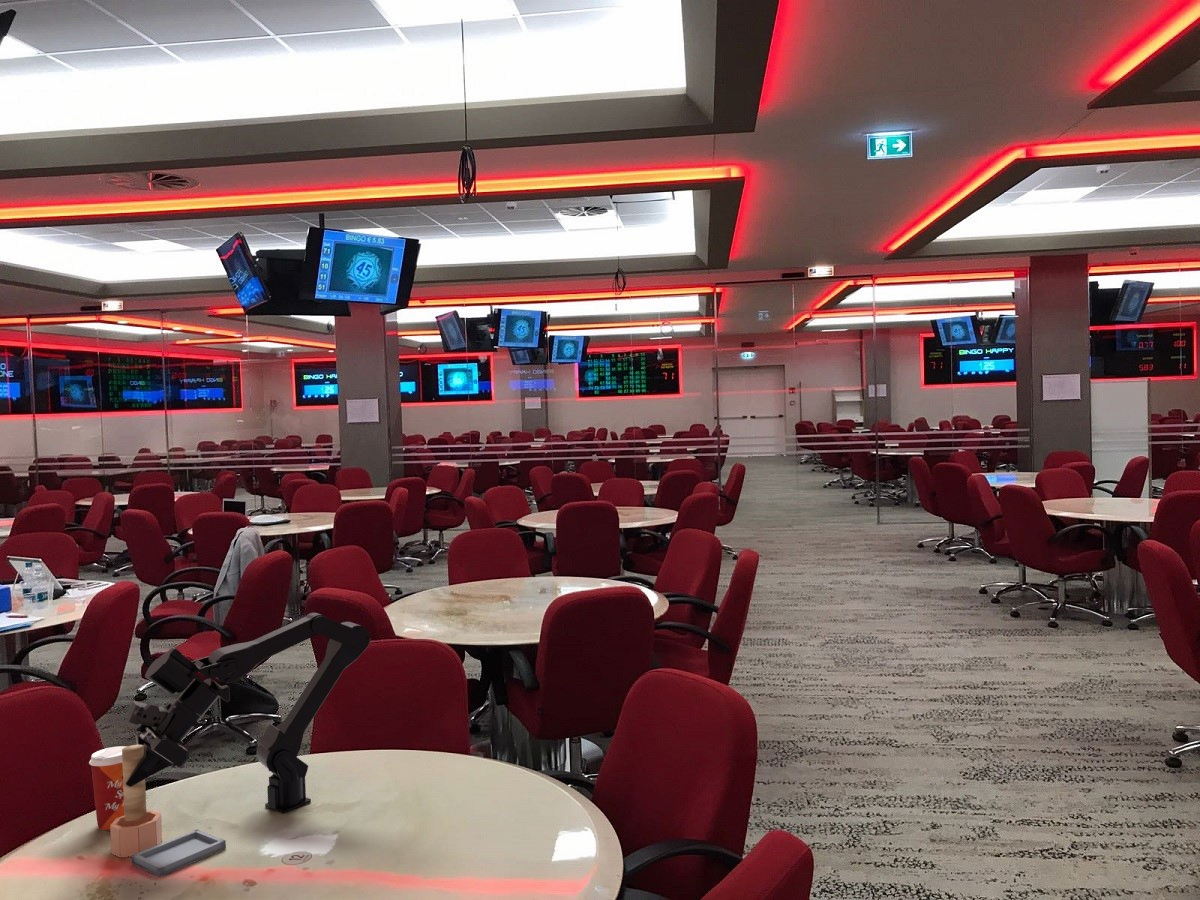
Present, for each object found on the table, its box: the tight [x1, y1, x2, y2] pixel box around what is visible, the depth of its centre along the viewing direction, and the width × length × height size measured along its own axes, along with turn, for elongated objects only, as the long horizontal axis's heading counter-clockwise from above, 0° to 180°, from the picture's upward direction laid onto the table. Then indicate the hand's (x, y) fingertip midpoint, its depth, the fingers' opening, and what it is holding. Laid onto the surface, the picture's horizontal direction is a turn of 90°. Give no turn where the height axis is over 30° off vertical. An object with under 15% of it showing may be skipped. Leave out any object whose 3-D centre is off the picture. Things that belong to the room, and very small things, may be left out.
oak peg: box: [122, 744, 147, 821], centre depth 158 cm, size 4×4×12 cm
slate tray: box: [131, 829, 227, 878], centre depth 154 cm, size 12×9×2 cm
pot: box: [109, 809, 163, 858], centre depth 158 cm, size 8×8×5 cm
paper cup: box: [88, 745, 128, 831], centre depth 169 cm, size 8×8×14 cm
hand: (125, 782), depth 157 cm, fingers closed on oak peg, 3 cm apart
